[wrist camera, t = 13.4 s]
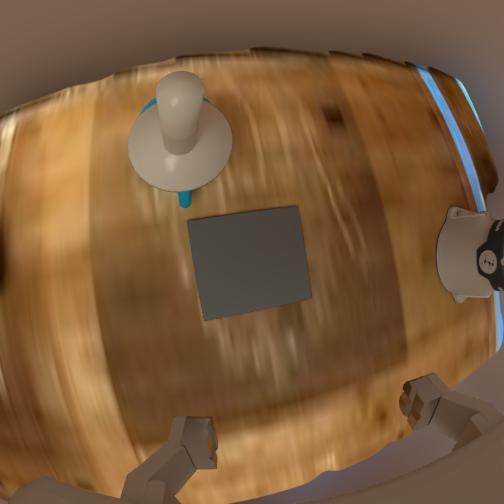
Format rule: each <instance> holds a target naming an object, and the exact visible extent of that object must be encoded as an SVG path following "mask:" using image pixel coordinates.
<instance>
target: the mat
mask: <svg viewBox="0 0 504 504" xmlns="http://www.w3.org/2000/svg"><path fill="white" fill-rule="evenodd" d="M187 224H188V231H189V238H190V244H191V251H192V257H193V263H194V269H195V275H196V280H197V286H198V291H199V297H200V302H201V307H202V313H203V318H204V321H208V320H213V319H218V318H224V317H229V316H234V315H239V314H244V313H248V312H253V311H258V310H263V309H267V308H272V307H276V306H281V305H285V304H289V303H294V302H298V301H302V300H306V299H310V298H312V296H311V289H310V281H309V274H308V267H307V260H306V253H305V247H304V240H303V234H302V228H301V222H300V216H299V210H298V206H295V207H287V208H278V209H270V210H262V211H255V212H247V213H240V214H232V215H225V216H218V217H211V218H205V219H198V220H191V221H187Z"/></svg>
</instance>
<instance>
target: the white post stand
mask: <svg viewBox="0 0 504 504" xmlns="http://www.w3.org/2000/svg"><path fill="white" fill-rule="evenodd" d="M203 95H204V84H203V82H202V80H201V79H200V78H199V77H198V76H197V75H195V74H193V73H191V72H186V71H178V72H173V73H170V74H168V75H166V76H165V77H163V78H162V79H161V80H160V82H159V83H158V85H157V87H156V98H157V103H155V104H153V105H151V106H150V107H149V108H147V109H146V110H145V111H144V112H143V113H142V114H141V115H140V116H139V117H138V119H137V120H136V122H135V123H134V125H133V127H132V129H131V132H130V135H129V140H128V152H129V157H130V161H131V163H132V165H133V167H134V169H135V170H136V172H137V174H138V175H139V176H140V177H141V178H142V179H143V180H144V181H145V182H147V183H148V184H150V185H151V186H153V187H155V188H157V189H160V190H164V191H169V192H186V191H191V190H195V189H198V188H200V187H202V186H204V185H206V184H208V183H209V182H211V181H212V180H213V179H214V178H216V177H217V176H218V175H219V173H220V172H221V171H222V170H223V168H224V167H225V165H226V163H227V161H228V159H229V157H230V154H231V150H232V133H231V128H230V126H229V123H228V121H227V120H226V118H225V117H224V115H223V114H222V113H221V112H220V111H219V110H218V109H217V108H216V107H215V106H213V105H212V104H210V103H208V102H207V101H204V100H203Z"/></svg>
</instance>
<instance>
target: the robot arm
mask: <svg viewBox="0 0 504 504" xmlns="http://www.w3.org/2000/svg"><path fill="white" fill-rule="evenodd" d="M437 268H438V273H439V277H440V279H441V282H442V284H443V286H444V287H445V288H446V290H448V291H449V292H450V293H452V295H453V297H454V299H455V301H456V302H457V303H462V302H464V301H465V300H466V299H467V298H468V297H482V298H487V297H490V295H491V294H493V292H494V291H495V290H496V291H502V292H504V219H502V220H494V219H492V218H491V214H490V211H482V212H480V214H479V213H475V212H472V211H468V210H465V209H461V208H458V207H450V208H449V209H448V214H447V220H446V222H445V224H444V226H443V227H442V230H441V232H440V235H439V239H438V244H437ZM403 390H404V392H403V394H402V395H401V396H400V400H399V407H400V410H401V412H402V414H403V415H405V416H407V417H408V419H407V422H408V423H409V425H410V427H411V428H412V430H413V431H414V430H417V429H419V428H422V427H425V426H427V425H429V426H430V427H432V428H433V429H435V430H437V431H439V432H441V433H442V434H444V435H446V436H448V437H450V438H452V439H454V440H455V441H457V443H456V445H455V446H454V448H453V450H452V452H451V453H449V454H448V455H446V456H444V457H442V458H440V459H438V460H436V461H434V462H432V463H429V464H427V465H425V466H423V467H421V468H418V469H416V470H414V471H411V472H409V473H406V474H404V475H401V476H399V477H396V478H394V479H391V480H388V481H385V482H382V483H380V484H377V485H374V486H371V487H367V488H364V489H360V490H357V491H354V492H350V493H346V494H342V495H338V496H334V497H329V498H325V499H320V500H315V501H310V502H304V503H298V504H504V416H503V415H502V414H501V412H500V411H499V410H498V409H497V408H496V407H495V406H494V405H493V404H492V403H489V402H486V401H483V400H480V399H476V398H473V397H470V396H467V395H464V394H461V393H458V392H455V391H454V392H451V390H450V389H449V388H448V387H447V386H446V385H445V384H444V382H443V381H442V380H441V379H440V378H439V377H438V376H437V374H436V373H433V372H432V373H430V374H427V375H424V376H421V377H419V378H416V379H413V380H410V381H407V382H405V384H404V385H403ZM213 425H214V421H213V418H212V417H211V416H175V417H174V419H173V422H172V427H171V431H170V435H169V439H168V444H167V445H163V446H162V447H161V448H160V449H159V450H157V451H156V452H155V453H154V454H153V455H151V456H150V457H149V458H148V459H147V460H145V461H144V462H143V463H142V464H141V465H139V466H138V467H137V468H136V469H134V470H133V471H132V472H131V473H129V474H128V475H127V477H126V481H125V484H124V487H123V491H122V494H121V498H115V497H111V496H107V495H103V494H99V493H96V492H92V491H89V490H85V489H82V488H79V487H76V486H73V485H70V484H67V483H64V482H61V481H59V480H56V479H53V478H50V477H42V478H39V479H37V480H35V481H32V482H30V483H28V484H26V485H24V486H22V487H20V488H19V489H18V490H17V491H16V492H15V493H14V495H13V496H12V497H11V499H10V501H9V503H8V504H181V503H180V502H179V501H178V499H177V498H176V497H175V495H176V494H177V493H178V492H179V491H180V489H181V488H182V487H183V486H184V485H185V484H186V482H187V481H188V480H189V479H190V478H191V476H192V475H193V474H194V473H195V472H196V469H217V454H216V450H217V449H218V436H217V431H216V428H214V427H213Z"/></svg>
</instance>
